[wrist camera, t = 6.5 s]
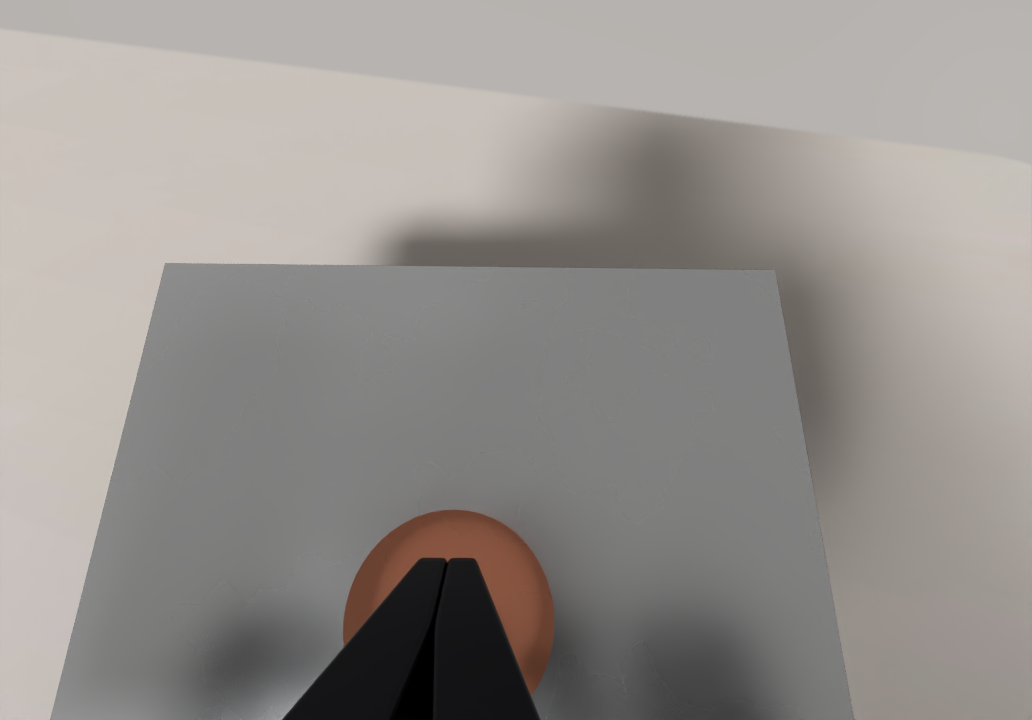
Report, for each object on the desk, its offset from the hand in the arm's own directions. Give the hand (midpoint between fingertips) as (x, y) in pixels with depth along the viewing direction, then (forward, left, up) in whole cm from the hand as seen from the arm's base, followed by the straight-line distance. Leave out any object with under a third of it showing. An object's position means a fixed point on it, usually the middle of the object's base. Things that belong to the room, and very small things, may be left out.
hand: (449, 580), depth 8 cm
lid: (0, 0, -3) cm, 3 cm away
